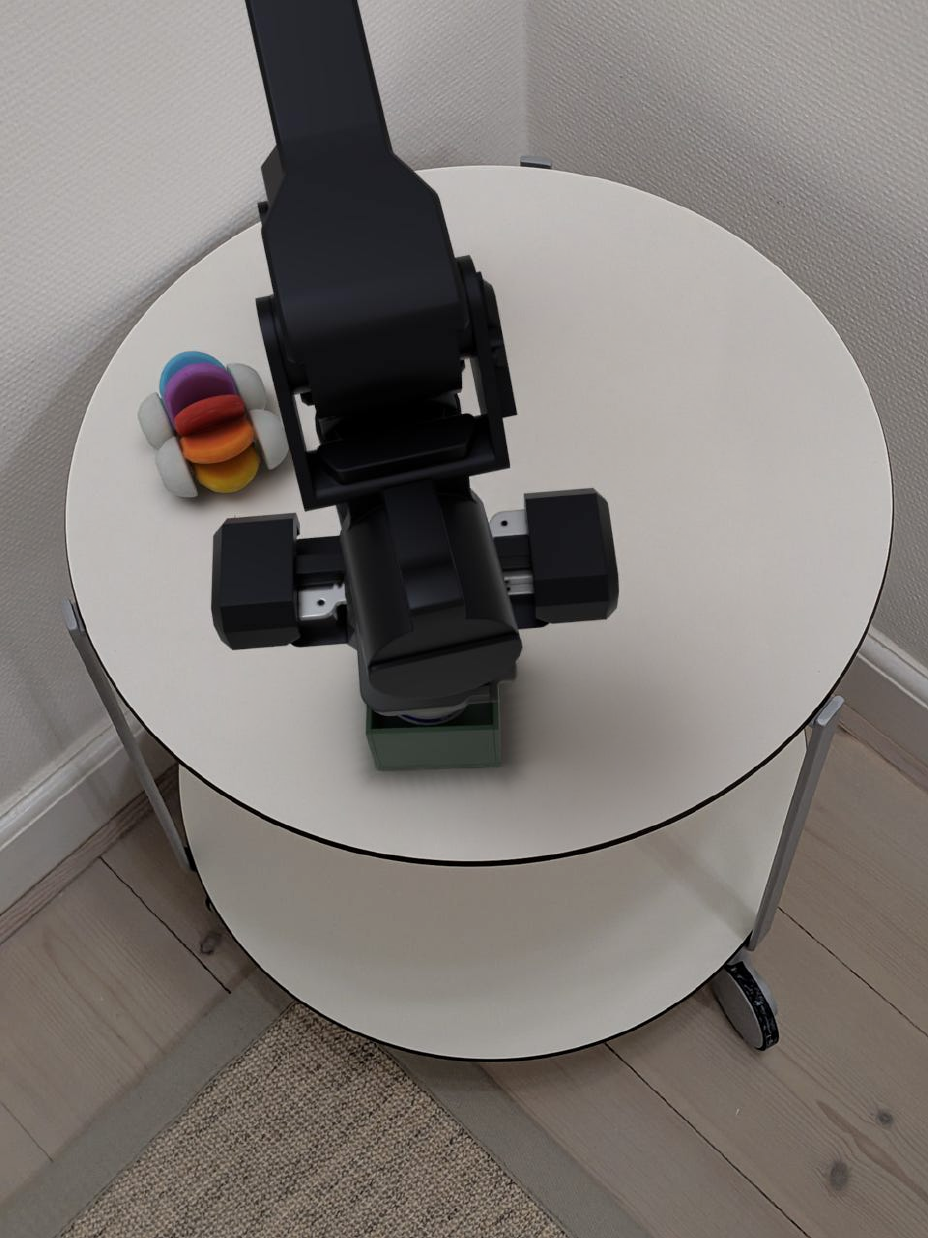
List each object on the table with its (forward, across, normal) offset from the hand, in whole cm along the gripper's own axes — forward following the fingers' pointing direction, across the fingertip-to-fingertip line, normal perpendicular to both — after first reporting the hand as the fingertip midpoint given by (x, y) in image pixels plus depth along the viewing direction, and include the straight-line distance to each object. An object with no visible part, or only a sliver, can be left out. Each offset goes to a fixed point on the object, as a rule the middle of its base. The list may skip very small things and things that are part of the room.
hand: (427, 645), depth 66 cm
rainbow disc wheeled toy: (+9, -14, +20) cm, 26 cm away
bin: (+8, 0, 0) cm, 8 cm away
